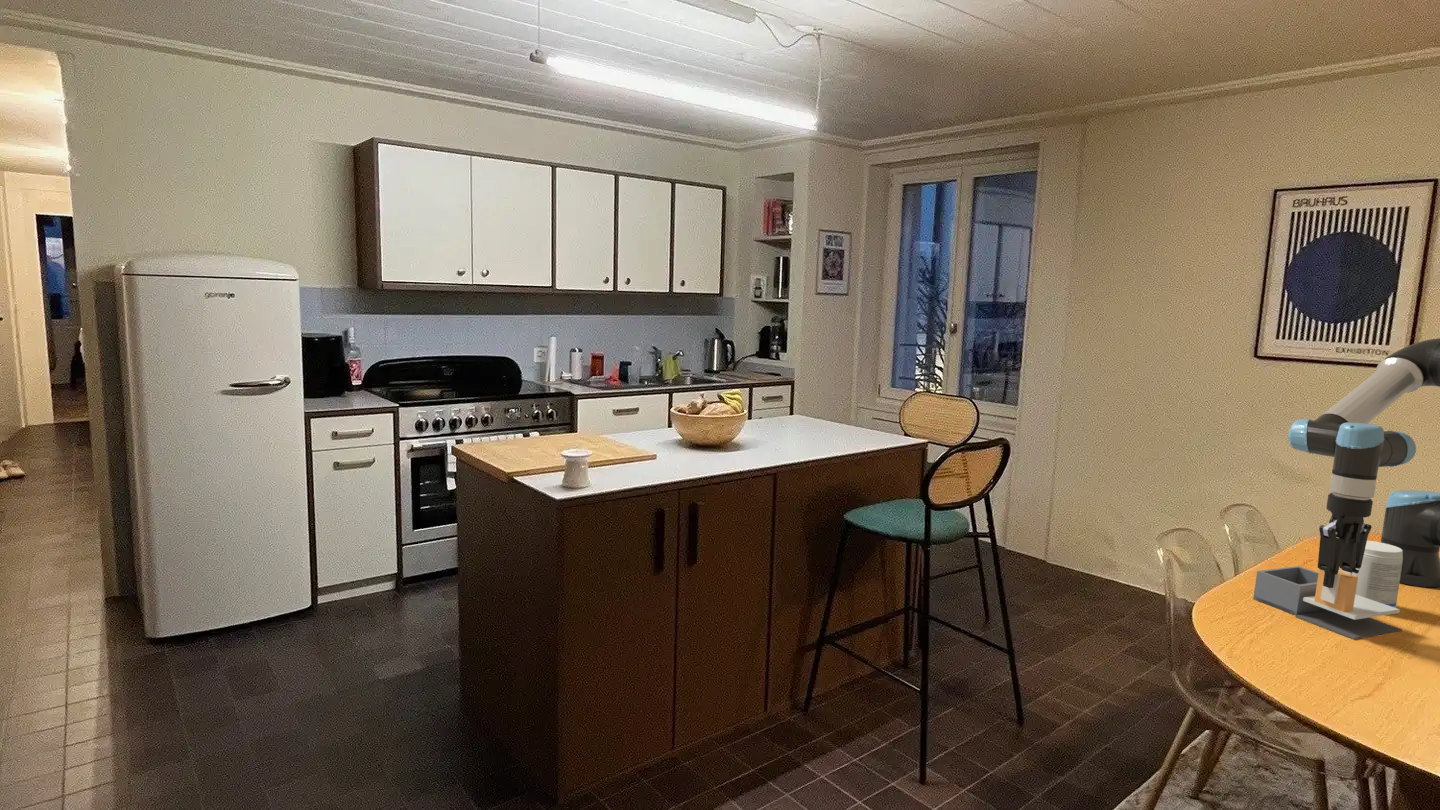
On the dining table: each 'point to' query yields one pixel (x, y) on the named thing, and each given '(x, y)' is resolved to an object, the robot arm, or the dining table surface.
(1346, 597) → the lid
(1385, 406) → the robot arm
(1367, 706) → the dining table surface
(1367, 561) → the supplement tub
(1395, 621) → the dining table surface
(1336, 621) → the mat
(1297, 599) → the box
